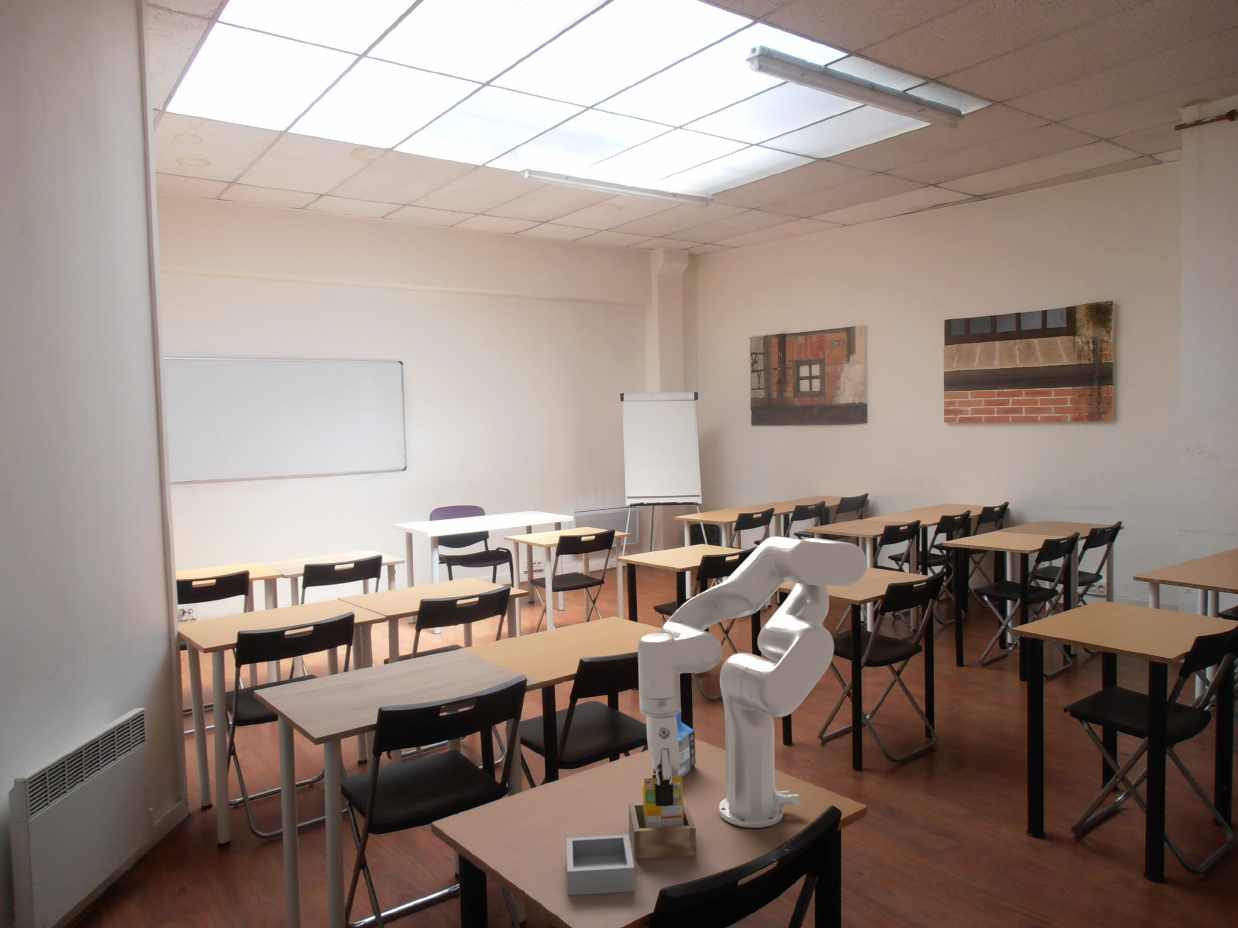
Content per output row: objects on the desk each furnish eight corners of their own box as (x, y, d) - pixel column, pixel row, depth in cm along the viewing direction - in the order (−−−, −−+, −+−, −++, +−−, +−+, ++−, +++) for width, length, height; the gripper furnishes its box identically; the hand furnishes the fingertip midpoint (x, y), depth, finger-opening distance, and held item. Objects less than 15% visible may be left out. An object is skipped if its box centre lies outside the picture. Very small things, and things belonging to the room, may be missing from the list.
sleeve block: (686, 825, 154) (685, 799, 154) (696, 855, 143) (695, 827, 143) (629, 828, 153) (628, 803, 153) (634, 858, 142) (634, 831, 142)
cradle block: (628, 856, 143) (628, 834, 143) (634, 891, 132) (634, 867, 132) (567, 859, 142) (566, 837, 142) (567, 895, 131) (567, 871, 131)
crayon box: (682, 829, 150) (680, 768, 149) (684, 837, 147) (683, 775, 146) (643, 832, 149) (641, 771, 149) (645, 840, 146) (643, 778, 146)
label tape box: (678, 781, 174) (677, 725, 173) (662, 777, 176) (661, 722, 175) (696, 766, 181) (695, 713, 181) (680, 763, 183) (679, 710, 183)
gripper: (687, 716, 139) (690, 820, 140) (673, 686, 156) (676, 779, 156) (644, 719, 139) (648, 823, 140) (635, 689, 155) (638, 782, 156)
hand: (663, 799), depth 148 cm, fingers closed on crayon box, 3 cm apart
